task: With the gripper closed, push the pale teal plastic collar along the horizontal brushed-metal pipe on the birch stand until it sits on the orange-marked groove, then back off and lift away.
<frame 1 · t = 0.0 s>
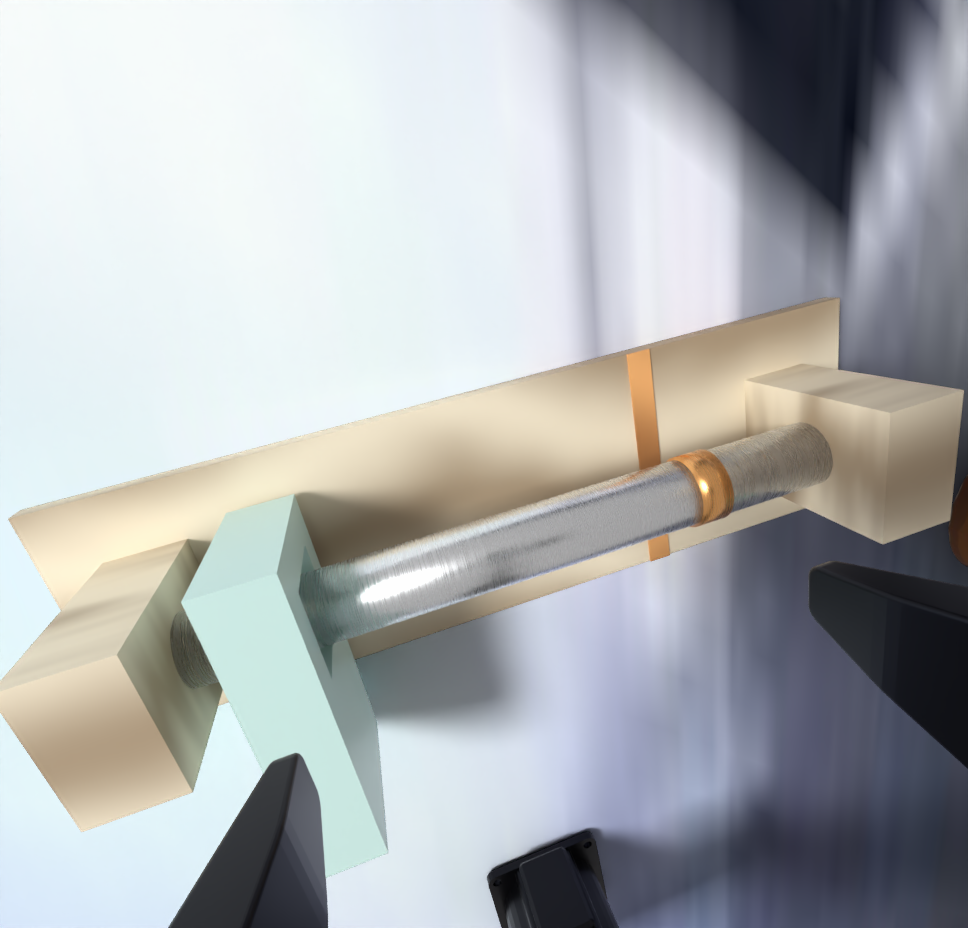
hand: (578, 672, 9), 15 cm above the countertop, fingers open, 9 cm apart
pipe: (528, 541, 20), point 4 cm above the countertop
collar: (304, 677, 19), point 4 cm above the countertop, slide at 0.0 cm
pipe stand: (496, 499, 24), on the countertop
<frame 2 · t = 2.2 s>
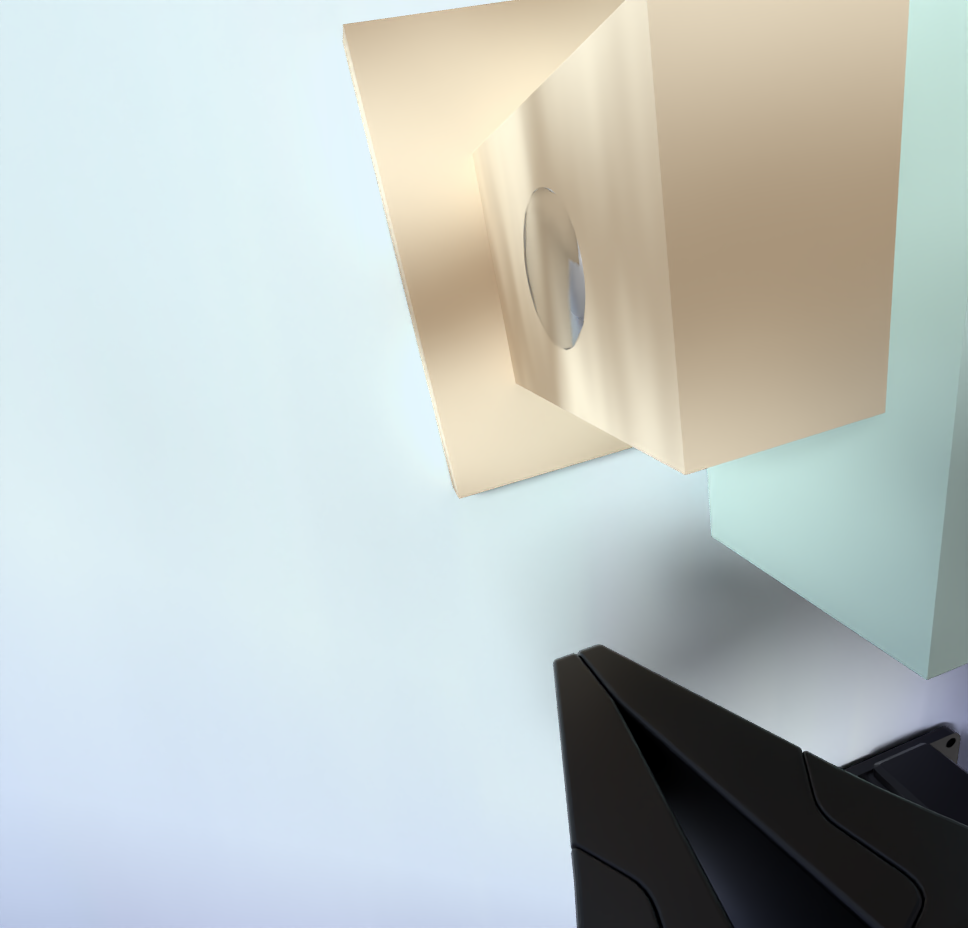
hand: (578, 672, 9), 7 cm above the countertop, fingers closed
collar: (847, 337, 11), point 4 cm above the countertop, slide at 0.0 cm
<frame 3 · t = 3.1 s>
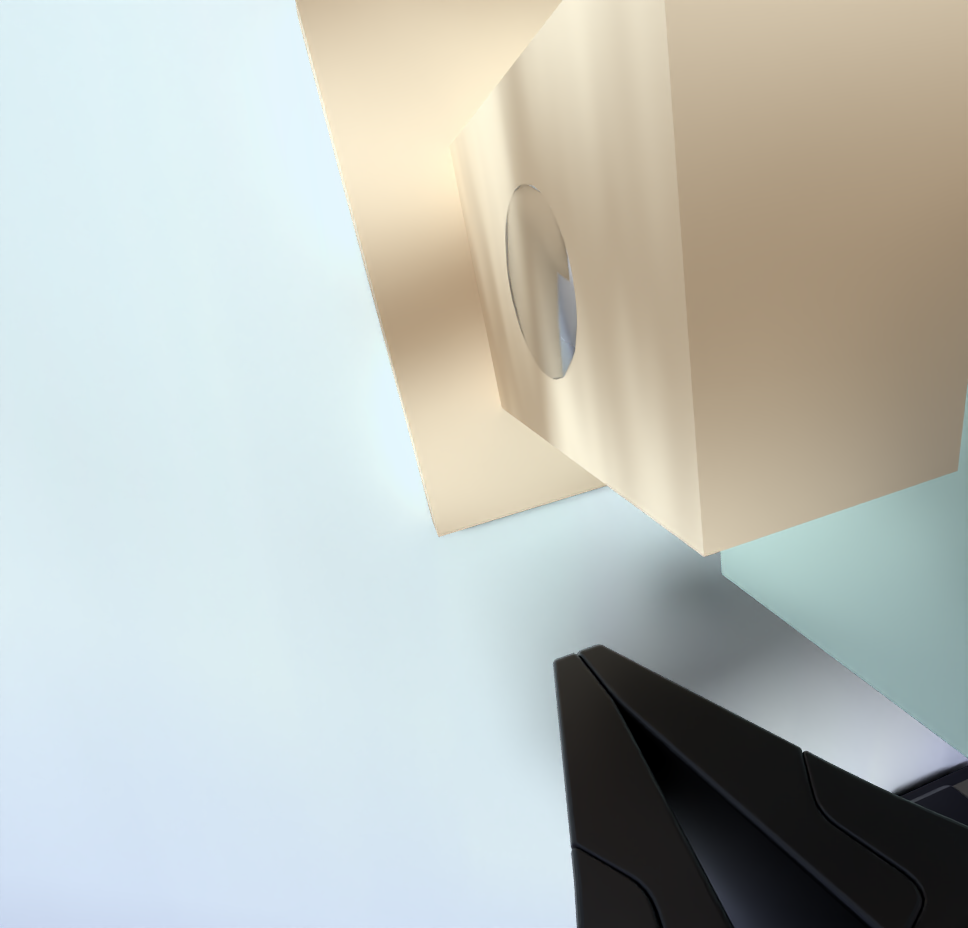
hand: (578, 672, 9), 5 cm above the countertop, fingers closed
collar: (885, 360, 9), point 4 cm above the countertop, slide at 0.0 cm
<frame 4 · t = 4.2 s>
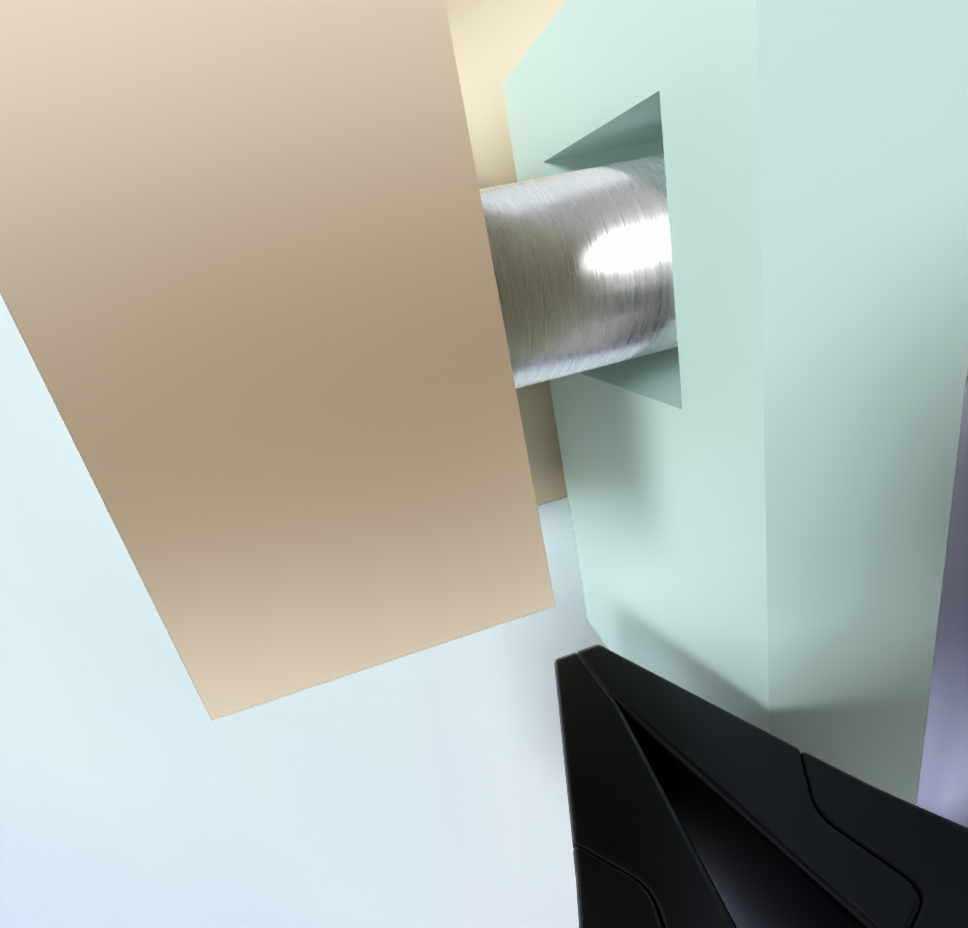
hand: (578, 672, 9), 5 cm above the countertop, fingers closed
collar: (693, 415, 9), point 4 cm above the countertop, slide at 0.8 cm, touching gripper
pipe stand: (881, 194, 13), on the countertop
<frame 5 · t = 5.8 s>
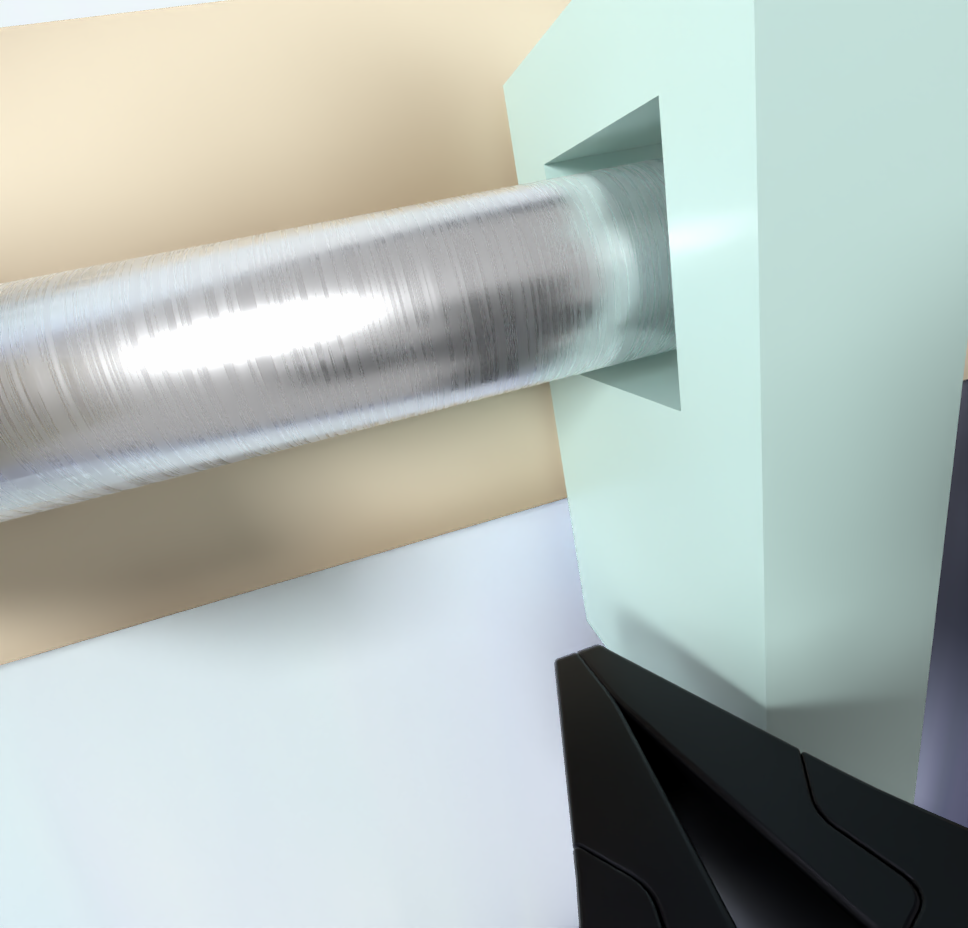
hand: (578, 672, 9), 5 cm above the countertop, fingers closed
pipe: (618, 269, 8), point 4 cm above the countertop
collar: (692, 417, 9), point 4 cm above the countertop, slide at 10.0 cm, touching gripper
pipe stand: (524, 275, 12), on the countertop
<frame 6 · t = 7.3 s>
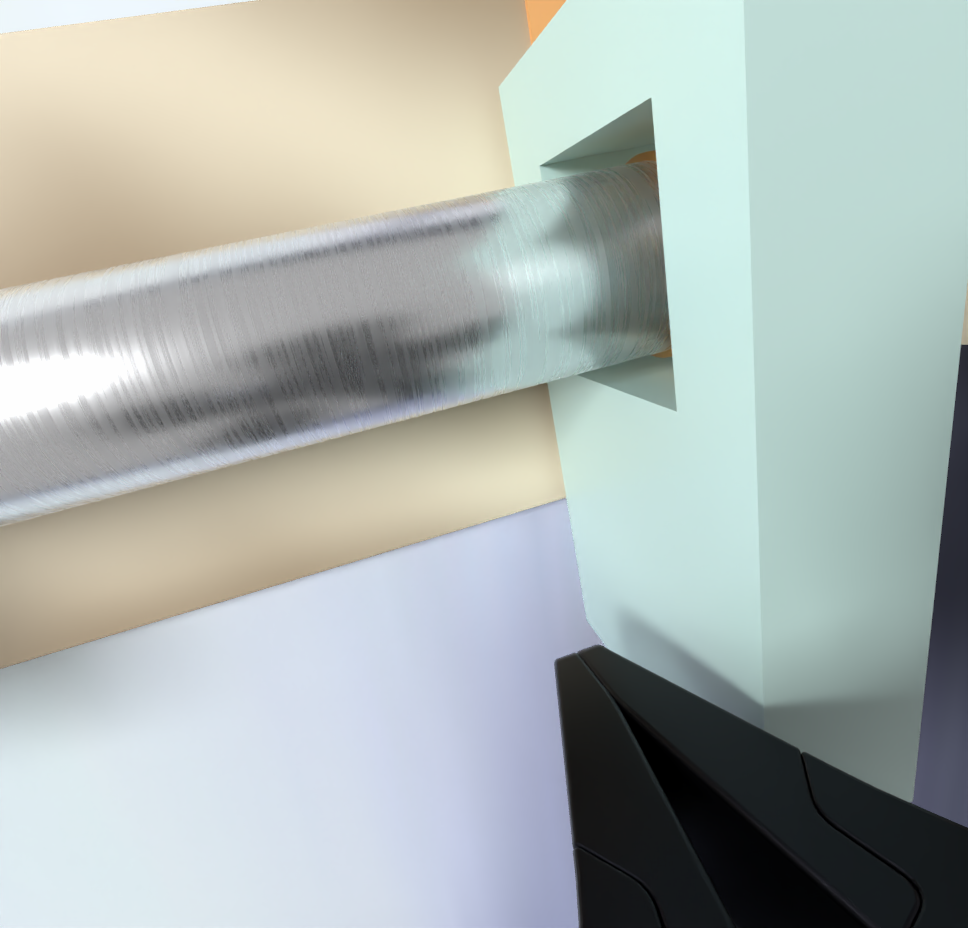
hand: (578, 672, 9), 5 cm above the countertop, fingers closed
pipe: (189, 369, 7), point 4 cm above the countertop
collar: (689, 417, 9), point 4 cm above the countertop, slide at 15.9 cm, touching gripper
pipe stand: (244, 339, 11), on the countertop
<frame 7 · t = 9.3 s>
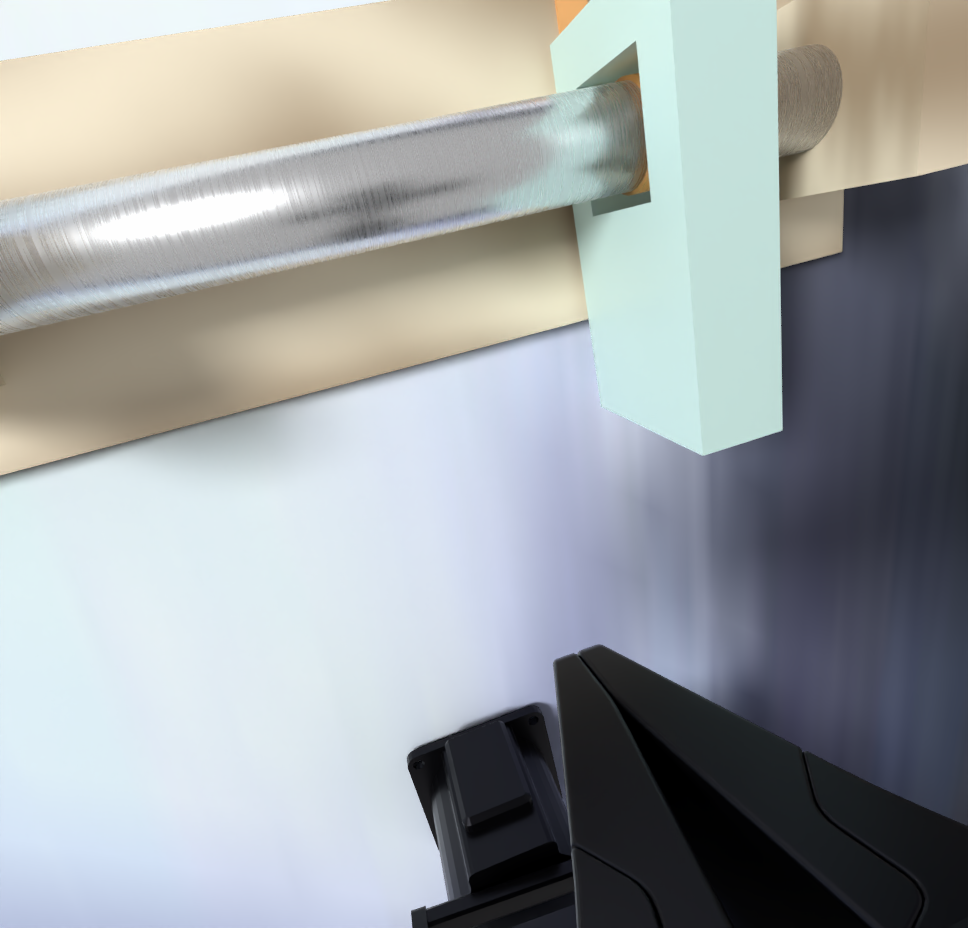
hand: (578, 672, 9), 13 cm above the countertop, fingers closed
pipe: (394, 187, 14), point 4 cm above the countertop
collar: (661, 230, 16), point 4 cm above the countertop, slide at 16.2 cm
pipe stand: (381, 208, 18), on the countertop
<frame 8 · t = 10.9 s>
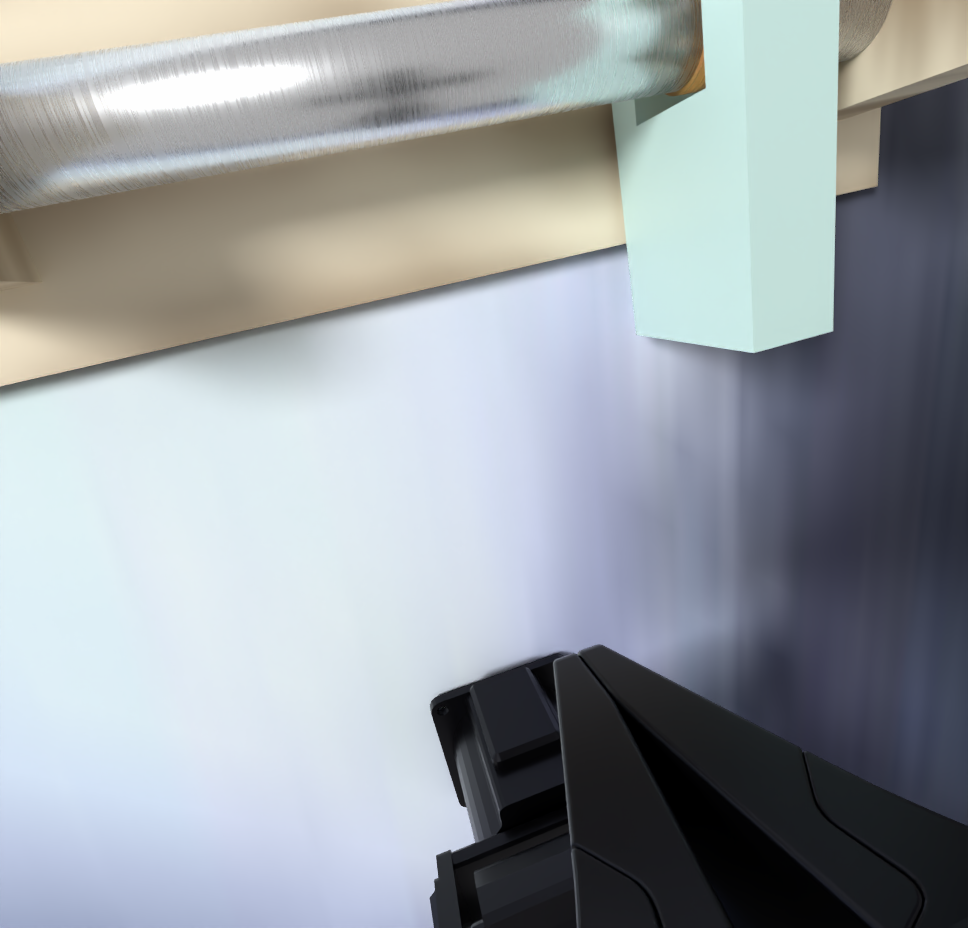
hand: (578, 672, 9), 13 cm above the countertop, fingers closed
pipe: (446, 70, 13), point 4 cm above the countertop
collar: (709, 133, 16), point 4 cm above the countertop, slide at 16.2 cm
pipe stand: (422, 120, 17), on the countertop
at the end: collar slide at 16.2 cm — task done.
